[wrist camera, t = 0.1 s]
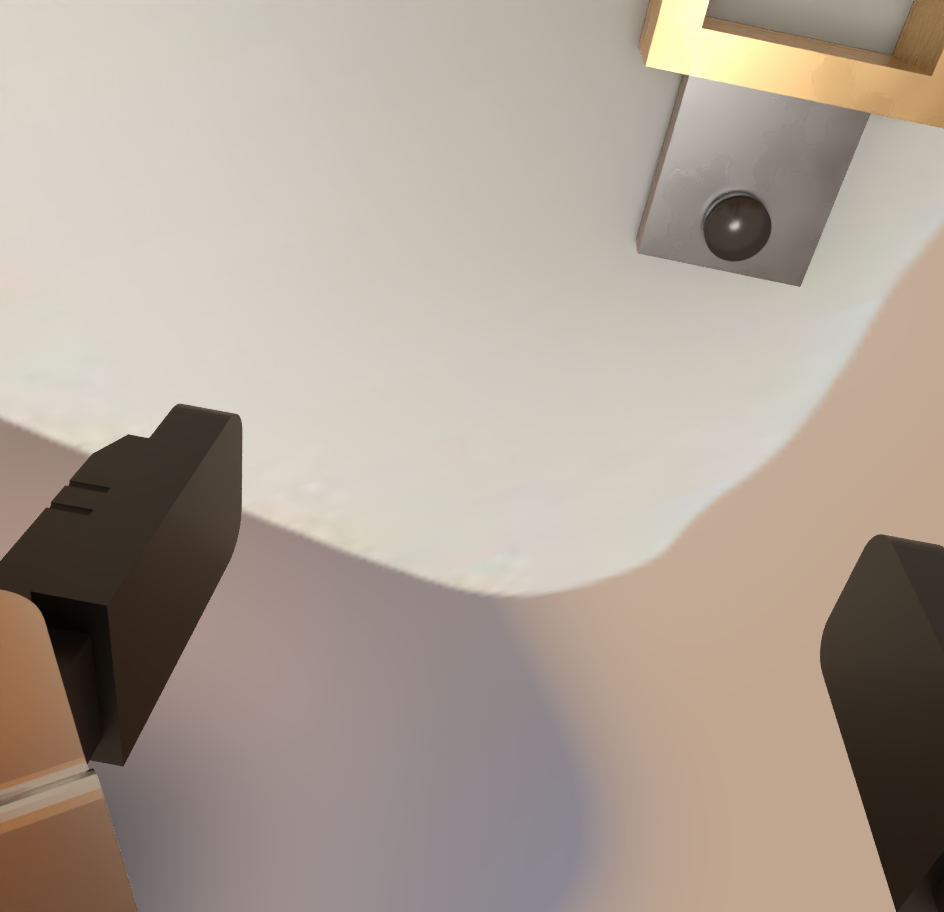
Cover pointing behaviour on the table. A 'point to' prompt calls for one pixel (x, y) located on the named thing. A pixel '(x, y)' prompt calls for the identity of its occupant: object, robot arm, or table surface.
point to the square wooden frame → (805, 60)
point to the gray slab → (747, 179)
